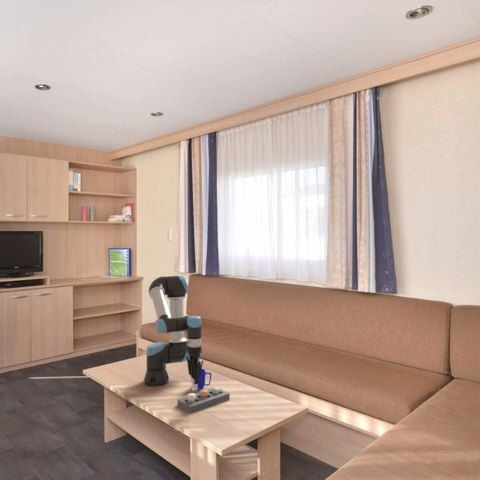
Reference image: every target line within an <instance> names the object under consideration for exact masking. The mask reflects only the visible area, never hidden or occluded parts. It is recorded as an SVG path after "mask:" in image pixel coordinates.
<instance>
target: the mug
mask: <svg viewBox="0 0 480 480" xmlns="http://www.w3.org/2000/svg"><path fill="white" fill-rule="evenodd" d="M206 375H209V381H208V383H206ZM211 380H212V372H209V371H206V369H205V368H202V370H201V377H199V378H198V389H197V390H202V389H204V388H205V386H210V384H211Z"/></svg>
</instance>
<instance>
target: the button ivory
mask: <svg viewBox="0 0 480 480" xmlns="http://www.w3.org/2000/svg"><path fill="white" fill-rule="evenodd" d="M186 395H187V396H186V397H187V401H188V402H195V401H196V393H192V392H191V393H190V392H189V393H188V394H186Z"/></svg>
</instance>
